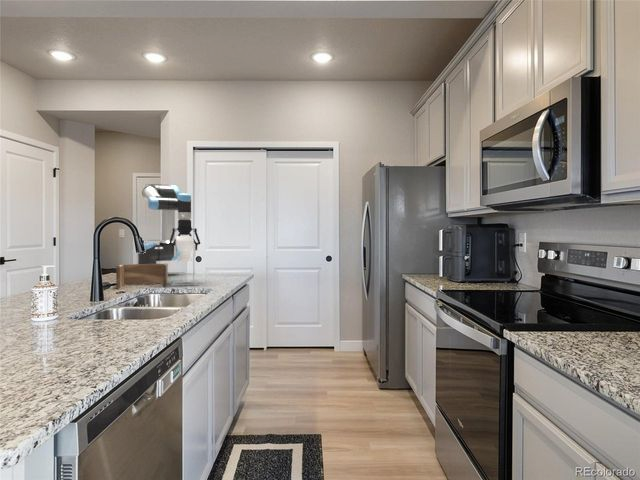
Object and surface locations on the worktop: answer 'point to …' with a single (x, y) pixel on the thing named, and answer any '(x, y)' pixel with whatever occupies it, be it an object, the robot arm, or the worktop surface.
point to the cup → (184, 247)
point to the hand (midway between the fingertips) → (184, 256)
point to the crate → (141, 274)
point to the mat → (185, 283)
